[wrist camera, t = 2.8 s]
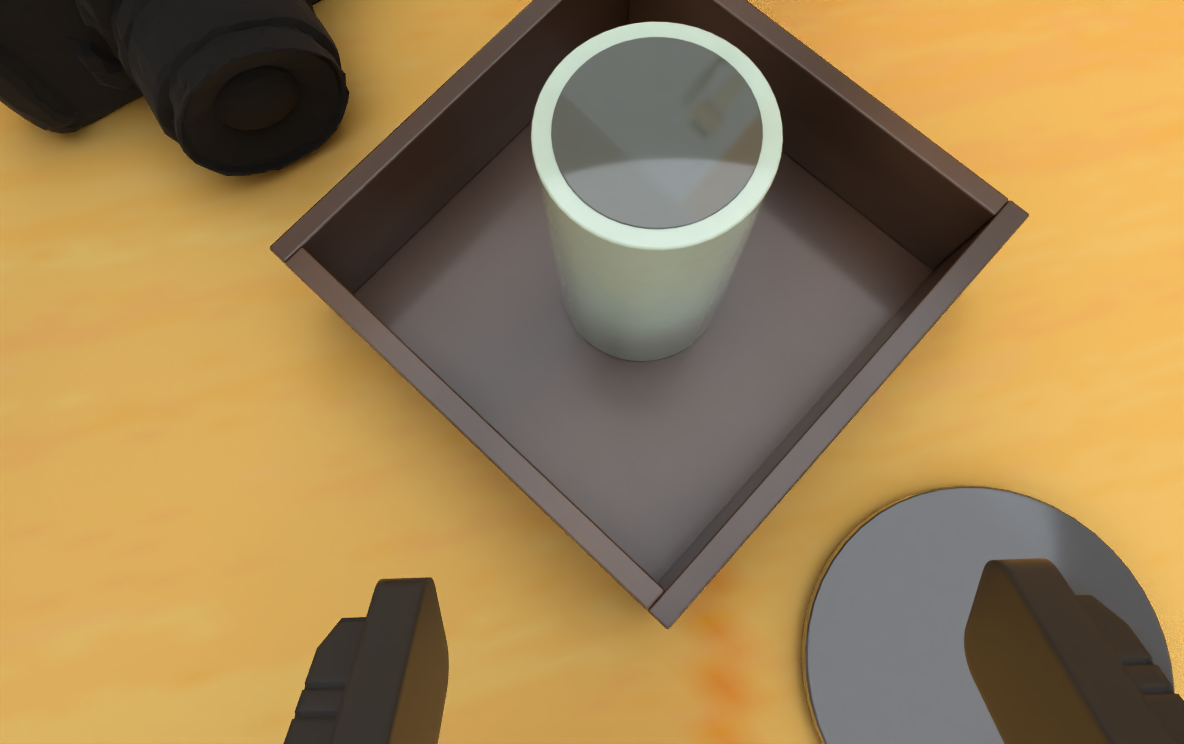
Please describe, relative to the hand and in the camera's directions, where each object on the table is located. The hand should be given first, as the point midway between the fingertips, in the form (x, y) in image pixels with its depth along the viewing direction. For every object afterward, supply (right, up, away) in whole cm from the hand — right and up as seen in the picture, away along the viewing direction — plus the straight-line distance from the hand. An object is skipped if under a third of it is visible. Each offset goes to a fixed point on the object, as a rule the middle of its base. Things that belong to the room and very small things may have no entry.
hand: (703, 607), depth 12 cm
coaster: (+10, -6, +13) cm, 17 cm away
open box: (0, +6, +16) cm, 17 cm away
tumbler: (0, +6, +15) cm, 17 cm away
